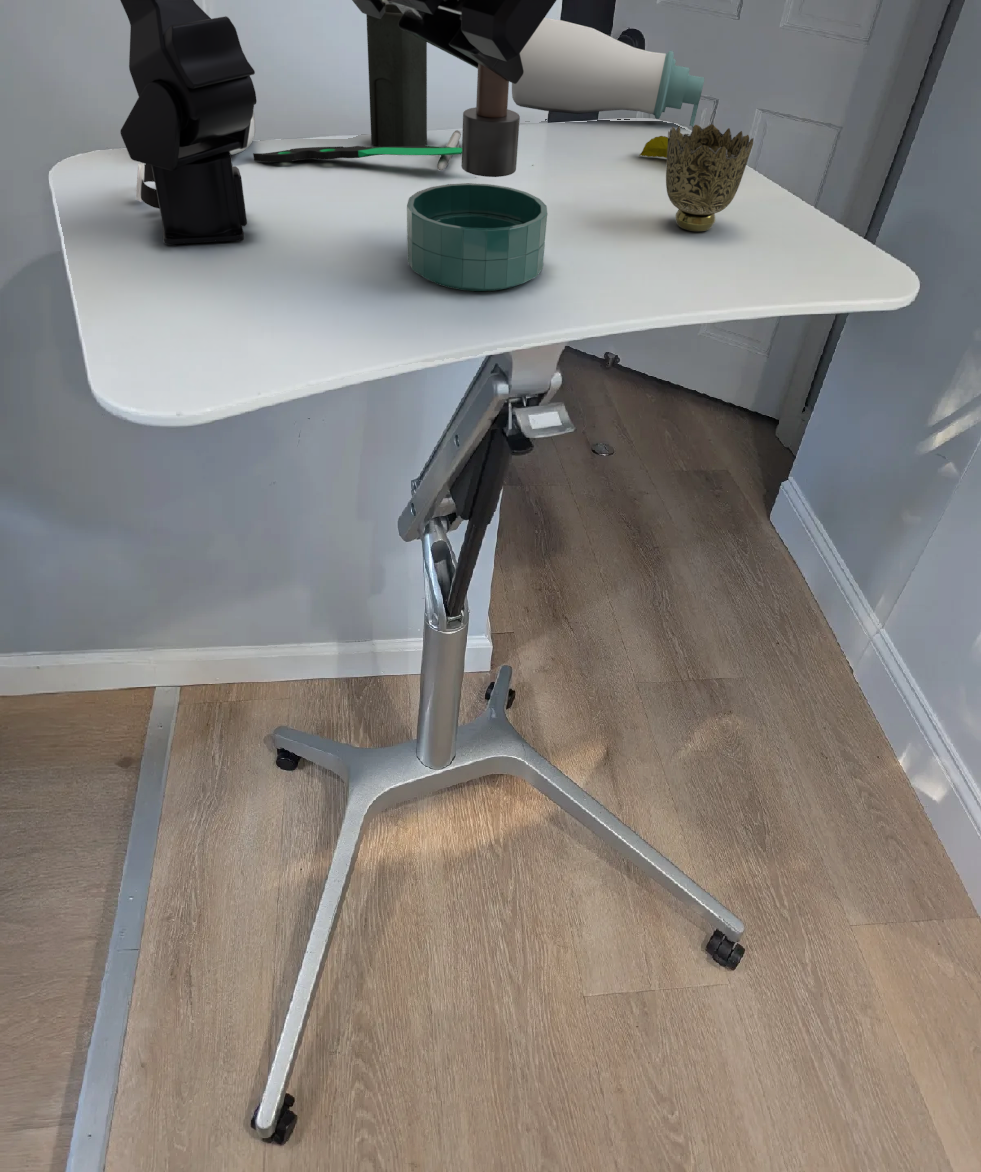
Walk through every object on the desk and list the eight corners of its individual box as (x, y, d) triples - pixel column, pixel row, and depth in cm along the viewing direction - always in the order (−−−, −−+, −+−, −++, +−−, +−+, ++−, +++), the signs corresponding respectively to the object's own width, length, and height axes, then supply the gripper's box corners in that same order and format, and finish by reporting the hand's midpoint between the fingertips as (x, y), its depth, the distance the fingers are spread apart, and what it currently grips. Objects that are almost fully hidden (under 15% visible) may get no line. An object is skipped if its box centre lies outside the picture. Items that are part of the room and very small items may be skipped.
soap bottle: (506, 105, 109) (692, 137, 108) (519, 10, 104) (714, 42, 103) (516, 105, 118) (689, 134, 116) (529, 17, 113) (709, 47, 111)
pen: (462, 141, 101) (462, 128, 100) (444, 179, 91) (444, 164, 90) (453, 141, 101) (453, 127, 100) (434, 178, 91) (434, 163, 90)
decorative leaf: (719, 174, 96) (711, 149, 93) (707, 188, 96) (698, 164, 93) (653, 152, 102) (644, 128, 99) (642, 166, 102) (632, 142, 99)
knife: (248, 154, 92) (267, 146, 96) (250, 163, 92) (269, 154, 96) (470, 153, 87) (481, 144, 91) (471, 161, 88) (481, 152, 92)
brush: (469, 178, 70) (475, -4, 62) (455, 161, 73) (460, -15, 65) (522, 176, 71) (536, -3, 63) (507, 159, 74) (518, -13, 66)
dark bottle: (431, 143, 101) (431, -143, 85) (404, 153, 97) (399, -143, 81) (394, 134, 103) (388, -147, 86) (366, 144, 99) (354, -147, 83)
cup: (707, 210, 88) (724, 121, 82) (749, 237, 82) (771, 143, 77) (639, 216, 85) (653, 125, 80) (679, 244, 80) (696, 148, 75)
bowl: (426, 300, 69) (426, 234, 65) (395, 247, 76) (394, 186, 73) (560, 289, 71) (567, 225, 68) (517, 240, 79) (521, 180, 76)
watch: (137, 189, 84) (128, 148, 82) (189, 187, 86) (182, 146, 83) (136, 217, 79) (127, 174, 77) (192, 215, 80) (185, 172, 78)
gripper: (559, -222, 50) (661, 4, 62) (376, -230, 60) (495, -36, 73) (440, -45, 51) (564, 140, 63) (281, -84, 61) (414, 81, 74)
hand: (507, 74), depth 68 cm, fingers closed on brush, 2 cm apart
